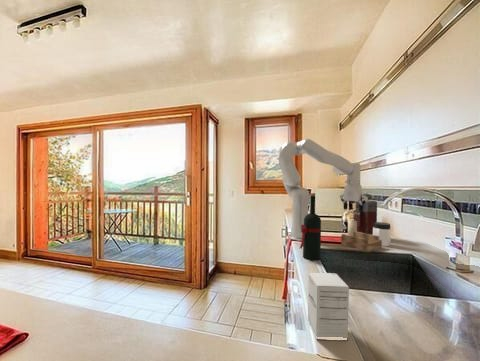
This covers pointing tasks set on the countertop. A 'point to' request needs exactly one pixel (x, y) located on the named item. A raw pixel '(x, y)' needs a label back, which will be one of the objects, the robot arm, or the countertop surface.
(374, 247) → the holder
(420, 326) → the countertop surface
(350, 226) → the roll
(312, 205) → the wine bottle
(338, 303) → the supplement box
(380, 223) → the jar
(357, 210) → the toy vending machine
